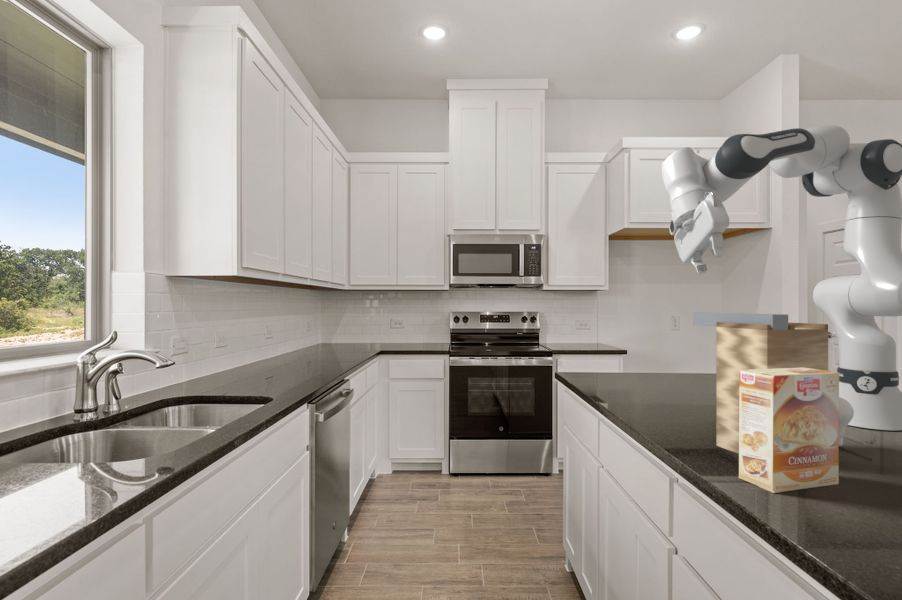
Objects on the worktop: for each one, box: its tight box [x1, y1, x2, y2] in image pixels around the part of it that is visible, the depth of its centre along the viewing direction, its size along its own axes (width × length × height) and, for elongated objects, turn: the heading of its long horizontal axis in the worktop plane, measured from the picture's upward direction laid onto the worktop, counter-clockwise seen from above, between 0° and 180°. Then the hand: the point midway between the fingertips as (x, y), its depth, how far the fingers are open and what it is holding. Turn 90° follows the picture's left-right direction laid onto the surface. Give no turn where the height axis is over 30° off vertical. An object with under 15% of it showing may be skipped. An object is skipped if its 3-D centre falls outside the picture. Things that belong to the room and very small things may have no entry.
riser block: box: [715, 322, 829, 455], centre depth 98 cm, size 12×16×27 cm
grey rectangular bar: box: [692, 312, 789, 330], centre depth 100 cm, size 20×4×3 cm, turn 16°
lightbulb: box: [839, 397, 854, 447], centre depth 100 cm, size 6×6×11 cm
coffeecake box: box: [738, 367, 840, 494], centre depth 81 cm, size 15×7×20 cm, turn 105°
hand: (710, 264), depth 104 cm, fingers open, 8 cm apart
